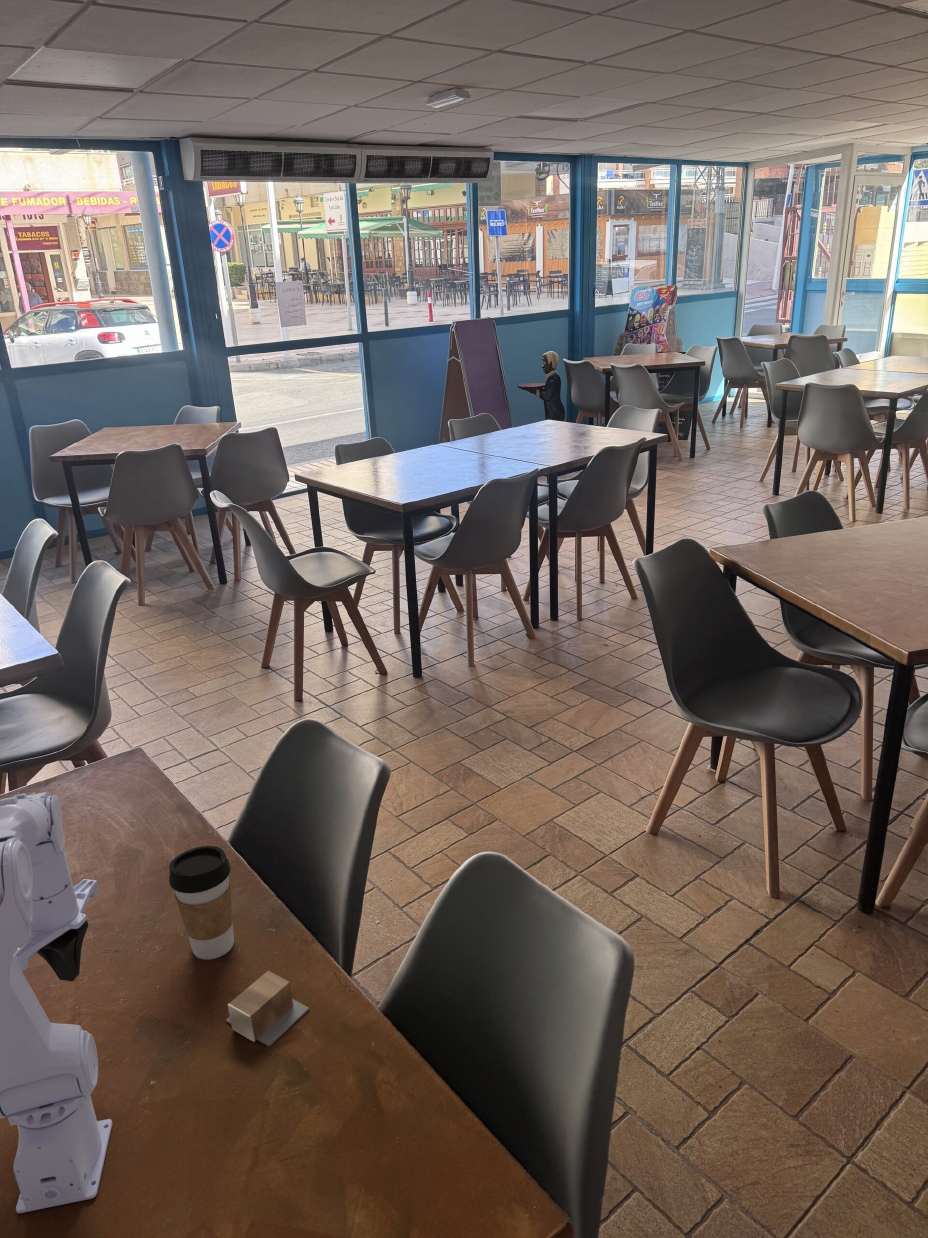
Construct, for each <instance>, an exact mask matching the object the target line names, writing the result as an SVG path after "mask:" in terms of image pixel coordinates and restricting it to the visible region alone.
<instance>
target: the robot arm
mask: <svg viewBox="0 0 928 1238" xmlns="http://www.w3.org/2000/svg"><path fill="white" fill-rule="evenodd" d="M63 825H64V824H63V812H62V807H61V804H60V801H59V797H58V796H57V795H56V794H53V795H51V794H50V793H49V791H44V792H39V793H33V794H29V795H27V794H26V793H21V794H16V795H13V796H11V797H8V798H7V797H6V798H2V799H0V1119H4V1118H6V1117H7V1119H8V1123H9V1125H10V1126H17V1132H18V1142H17V1143H18V1145H17V1150H16V1153H15V1156H14V1160H13V1174H14V1177H15V1179H16V1182H17V1186H18V1189H19V1192H20V1193H19V1196H18V1200H17V1203H16V1206H15V1211H16V1213H17V1214H24V1213H27V1212H28V1213H29V1212H33V1211H38V1210H43V1209H46V1208H52V1207H57V1206H61V1205H66V1204H67V1205H68V1204H70V1203H71V1204H72V1203H76V1202H81V1201H86V1200H91V1199H94V1198H95V1197H96V1196H97V1194H98V1191H99V1186H100V1181H101V1177H102V1171H103V1168H104V1163H105V1160H106V1159H105V1158H106V1154H107V1149H108V1145H109V1140H110V1136H111V1132H112V1127H113V1121H112V1119H111V1118H108V1119H102V1120H97V1116H96V1111H95V1107H94V1103H93V1101H92V1097H91V1095H92V1093H93V1091H94V1089H95V1088H96V1087H97V1085H98V1080H99V1059H98V1051H97V1044H96V1041H95V1038H94V1036H93V1035H92V1034H91V1033H89V1031H88V1030H83V1028H82V1026H81V1025H79V1024H71V1023H59V1022H58V1023H57V1022H56V1023H55V1022H51V1021H50V1019H49V1018H48V1015H47V1014H46V1012H45V1010H44V1008H43V1007H42V1005H41V1003H40V1001H39V1000H38V998H37V996H36V994H35V992H34V990H33V988H32V987H31V986H30V984H29V982H28V980H27V978H26V976H25V974H24V973H23V972H24V971H26V969H28V967H29V961H30V960H31V958H32V957H34V956H35V955H36V954H38V955H39V956H40V957H41V958H42V959H44V961H45V962H46V963H47V964H48V965H49V966H50V968H51V969H52V971H54V973H55V975H56V977H57V978H58V979H59V981H67V982H74V981H75V980H76V978H77V977H78V976H79V975H80V970H81V957H82V947H83V944H84V943H83V942H84V938H85V936H86V934H87V930H88V928H89V921H88V919H87V915H86V914H85V913H84V911H85V910H86V909H85V908H86V906H87V905H88V902H89V900H90V898H95V897H97V896H98V895H99V894H100V889H99V885H98V880H96V879H87V878H82V880H81V881H80V882H78V883H77V884H76V885H74V884H73V879H72V876H71V871H70V868H69V863H68V859H67V855H66V851H65V844H66V837H65V832H64V827H63Z"/></svg>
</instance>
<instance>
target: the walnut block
mask: <svg viewBox="0 0 928 1238" xmlns="http://www.w3.org/2000/svg"><path fill="white" fill-rule="evenodd" d="M292 999H293V995H292V987H291V983H290V981H288V979H285V978H284V977H281V976H280V975H278V974H275V973H273V972H272V971H270V970H267V971H266V972H265V973H263V974H262V975H261V976H260V977H259V978H258V979H257V980H255V981H254V982H253V983H252V984H250V985H249V986H248V987H247V988H246V989H244V990H243V991H242V992H241V993H240V994H239V995H237V996H236V997H235V998H234V999H232V1000H231V1001H230V1002H229V1003H227V1009H228V1014H229V1016H230V1020H231V1024H230V1025H231V1029H232V1030H233V1031H234V1032H236V1033H237V1034H240V1035H241V1036H243V1037H244V1038H246V1039H248V1040H250V1041H251V1042H253V1043H255V1042H256V1041H258V1040H257V1039H258V1038H259V1037H260V1036H261V1035H262V1034H263V1033H264V1032H265V1031H267V1030H268V1029H269V1028H270V1027H271V1026H272V1025H273V1024H274V1023H275V1022H276V1021H278V1020H279V1019H280V1018H281V1017H282V1016H283V1015H284V1014H285V1013H286V1012H287V1011H289V1010H290V1009H291V1008H292V1007H293V1000H292Z"/></svg>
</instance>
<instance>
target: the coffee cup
mask: <svg viewBox="0 0 928 1238" xmlns="http://www.w3.org/2000/svg"><path fill="white" fill-rule="evenodd" d="M168 868H169V876H168V880H169V885H170V887H171V888H172V889H173V890H174V897H175V901H176V905H177V907H178V910H179V913H180V916H181V919H182V923H183V925H184V929H185V931H186V935H187V937H188V940H189V941H188V942H189V944H190V947H191V950H192V954H193V955H194V956H195V957H196V958H197V959H201V960H213V959H214V960H215V959H217V958H221V957H222V956H224V955H226V954H227V953H229V952H230V951H231V949H232V948H233V946H234V944H235V935H234V934H235V933H234V925H233V924H234V923H233V922H234V921H233V917H234V916H233V902H232V887H231V884H232V883H231V880H230V877H229V875H230V873H231V869H232V868H231V865H230V861H229V859H228V857H227V855H226V852H225V851H224V850H223V849H222V848H221V847H218V846H215V845H202V846H198V847H193V848H190V849H188V850H186V851H184V852H182V853H180V854H178V855H176V856H175V858H173V859H172V860H171V861H170V862H169V866H168Z"/></svg>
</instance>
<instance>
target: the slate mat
mask: <svg viewBox="0 0 928 1238" xmlns="http://www.w3.org/2000/svg"><path fill="white" fill-rule="evenodd" d="M292 1000H293V1007H292V1008H291V1009H290V1010H289V1011H287V1012H286V1013H285V1014H284V1015H283V1016H282V1017H281V1018H280V1019H279V1020H278V1021H276V1022H275V1023H274V1024H273V1025H272V1026H271V1027H270V1028H269V1029H268V1030H267V1031H265V1032H264V1033H263V1034H262V1035H261V1036H260V1037H259V1038H258V1039H257V1040H256V1041H258V1042H260V1043H262V1044H263V1045H265V1046H267V1047H269V1048H270V1047H271V1046H272V1045H273V1044H274V1043H275V1042H276V1041H277V1040H279V1038H280V1037H282V1036H283V1035H284V1034H285V1033H286V1032H287V1031H288V1030H289V1029H291V1027H293V1025H295V1024H296V1022H298V1021H299V1019H300V1020H301V1018H302V1017H303V1016H304V1015H305V1014H307V1012H308V1011H310V1008H309V1006H306V1005H304V1004H303V1003H301V1002H299V1001H297V1000H296V999H293V998H292ZM225 1022H226V1023H228V1024H229V1025H231V1020H230V1015H229V1016H228V1017H227V1018H226V1019H225Z"/></svg>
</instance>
